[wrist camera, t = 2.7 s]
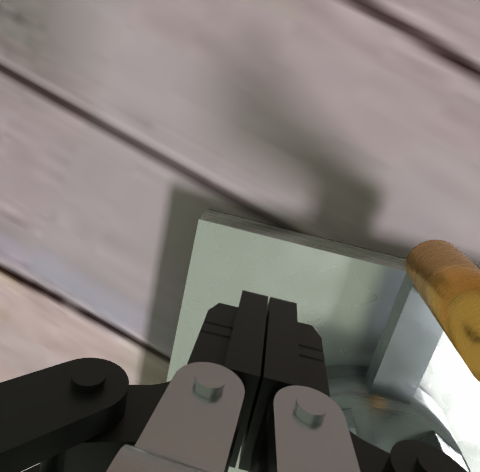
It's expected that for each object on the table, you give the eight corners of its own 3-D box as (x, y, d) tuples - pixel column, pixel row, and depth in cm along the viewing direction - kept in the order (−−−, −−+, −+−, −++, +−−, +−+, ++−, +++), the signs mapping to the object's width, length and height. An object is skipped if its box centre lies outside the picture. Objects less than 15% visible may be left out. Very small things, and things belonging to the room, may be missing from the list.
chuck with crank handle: (319, 205, 19) (337, 271, 12) (554, 263, 19) (730, 371, 11) (234, 490, 25) (210, 655, 18) (409, 539, 25) (461, 729, 17)
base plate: (206, 209, 22) (198, 219, 20) (614, 311, 21) (647, 333, 19) (147, 497, 30) (137, 525, 28) (450, 582, 29) (462, 618, 27)
